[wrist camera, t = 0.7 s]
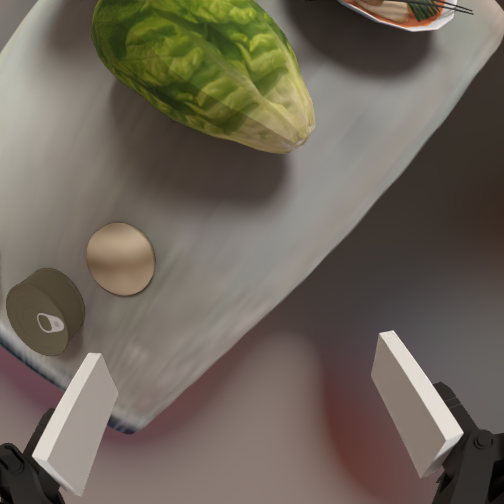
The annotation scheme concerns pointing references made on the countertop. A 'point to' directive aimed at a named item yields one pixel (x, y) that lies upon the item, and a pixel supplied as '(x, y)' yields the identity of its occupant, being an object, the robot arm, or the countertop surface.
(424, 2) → the ramen bowl
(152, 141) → the countertop surface
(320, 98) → the countertop surface
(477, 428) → the robot arm
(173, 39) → the lettuce
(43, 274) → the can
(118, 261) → the beech coaster
